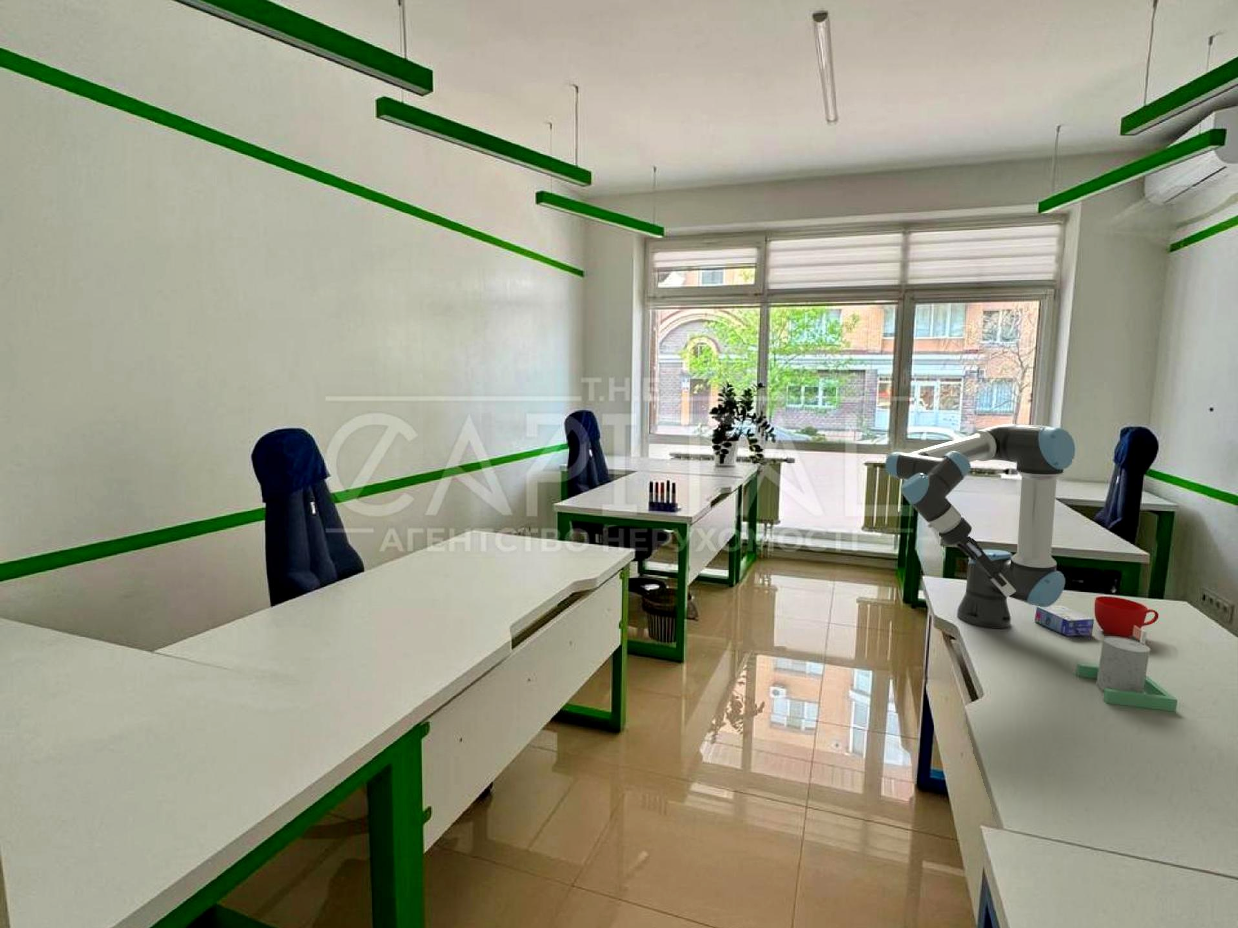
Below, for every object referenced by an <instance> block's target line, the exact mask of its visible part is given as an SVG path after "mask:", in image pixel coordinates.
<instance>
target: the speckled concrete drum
mask: <svg viewBox="0 0 1238 928" xmlns="http://www.w3.org/2000/svg"><path fill="white" fill-rule="evenodd" d="M1150 652H1151V648H1150V647H1149V646H1148V645H1147V644H1146V643H1145V644H1143V643H1140V641H1137V640H1134V639H1131V638H1122V637H1115V636H1111V635H1109V636H1104V637H1102V643H1101V652H1100V658H1099V662H1098V663H1099V664H1098V666H1099V670H1098V677H1097V678H1096V682H1095V685H1096V687H1097V688H1098V689H1100V690H1101V691H1102V692H1105V689H1114V690H1122V691H1130V692H1138V693H1144V684H1145V678H1146V676H1147V671H1148V670H1147V669H1148V664H1149V657H1150Z"/></svg>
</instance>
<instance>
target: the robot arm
mask: <svg viewBox="0 0 1238 928" xmlns="http://www.w3.org/2000/svg"><path fill="white" fill-rule="evenodd" d="M1075 455H1076V447H1075V440H1074V438H1073V436H1072V434H1070V432H1068V430H1066V429H1065V428H1061V427H1054V426H1051V425H1041V424H1039V425H1038V424H1025V423H1024V424H1022V423H1021V424H1020V423H1003V424H999V425H995V426H990V427H986V428H982V429H979V430H975V431H972V432H971V433H970V434H969V435H968V436H966V437H962V438H957V439H955V440H951V441H947V442H944V443H943V442H942V443H940V444H936V445H933V446H932V445H931V446H929V447H926V448H923V449H918V450H915V451H910V452H903V451H894V452H891V453H890V454H888V456H887V457H886V460H885V472H886V473H887V474H888V476H890V477H893V478H896V479H898V480H904V482H903V483H902V484H901V486H900V491H901V493H902V495H903V496H904V498H905V499H906V501H907V502H908V504H910V505H911V506H912V507H913V508H914V509H915V510H916V512H918V514H920V516H922V518H923V519H924V520H925V521H926V522H927V524H928V525H927V527H928V529H933V530H934V532H935V533H937V534H938V536H939V537H940V539H942V540H943V542H944V543H945V544H946V545H950V546H952V545H955V544H956V547H957V548H958V549H959V550H961V551H962V552H963V553H964V554H965V555H966V556H967V557H968V558H969V561H968V563H967V564H968V568H967V577H966V587H965V593H964V595H963V597H962V599H961V602H960V604H959V605H958V607H957V612H956V613H957V614H956V615H957V618H958V619H960V620H962V621H964V622H966V623H968V624H971V625H974V626H979V627H983V628H988V629H1006V628H1009V627H1010V626H1011V621H1012V617H1011V613H1010V609H1009V606H1008V597H1009V598H1011V599H1014V600H1018V601H1020V602H1022V603H1026V604H1028V605H1031V606H1036V607H1048V606H1053V605H1054V604H1055V603H1056V602H1057V601H1058V599H1059V598H1060V597H1061V595H1062V594H1063V591H1064V588H1065V584H1066V578H1065V576H1064V574H1063V573H1062V572H1061V571H1060V570H1059V571H1058V570H1057V564H1058V563H1057V560H1055V559H1054V557H1052V547H1053V546H1052V545H1053V534H1054V533H1053V532H1054V518H1055V506H1056V505H1055V503H1056V492H1057V490H1056V489H1057V479H1058V478H1059V477H1060V476H1062V475H1063V474H1064V470H1065V469H1067V468H1069V467H1070V466H1071V465H1072V463H1073V460H1074V459H1075ZM991 460H992V461H993V460H995V461H1004V462H1010V463H1016V471H1015V472H1016V473H1018V474H1019V475H1020V476H1021V482H1020V483H1021V485H1020V500H1019V517H1018V534H1017V535H1018V536H1017V551H1016V553H1014V554H1013V553H1011V552H1010V551H1006V550H999V549H983V548H982V547H981V546H979V545H978V542H977V541H976V539H974V538H973V537H971V536H969V535H970V534H971V533H972V529H973V528H972V525H971V524H970V523H969V522H968V521H967V520H966V519H965V518H964V517H962V513H960V512H959V511H958V510H957V508H955V506H954V505H953V504H952V503H951V502H950V501H949V500H948V498H947V496H948V495H949V494H950V493H951V492H952V491H953V490H954V489H955V488H956V487H957V486H958V485H959V484H960V483H961V482H962V481H963V480H964V479H965V477H966V476H967V475H968V474H969V472H970V471H971V467H972V466H971V463H972V462H975V461H979V462H987V461H991Z"/></svg>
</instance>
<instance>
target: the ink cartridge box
mask: <svg viewBox="0 0 1238 928" xmlns="http://www.w3.org/2000/svg"><path fill="white" fill-rule="evenodd" d="M1034 622H1035V623H1037V624H1039V625H1041V626H1043V627H1046V628H1048V629H1051V630H1053V631H1055V632H1057V633H1058V634H1061V635H1063V636H1065V637H1071V636H1072V637H1073V636H1075V637H1076V636H1092V635H1093V628H1094V623H1095V619H1094V618H1093V617H1089V616H1088V615H1085V614H1082V613H1080V612H1078V611H1075V610H1073V609H1070V608H1068V607H1067V606H1064V605H1050V606H1048V607H1039V606H1036V611H1035V615H1034Z"/></svg>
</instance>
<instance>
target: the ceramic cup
mask: <svg viewBox="0 0 1238 928" xmlns="http://www.w3.org/2000/svg"><path fill="white" fill-rule="evenodd" d="M1093 607H1094V608H1093V609H1094V611H1093V612H1094V617H1095V620H1096V623H1097V624H1098V626H1099V627H1100V629H1101V631H1103V633H1105V634H1106V635H1109V636H1115V637H1122V638H1127V639H1130V637H1132V636H1134V635H1133V629H1134V625H1135V626H1137V627H1138V628H1140V629H1141V630H1142V628H1143V627H1146V626H1149V625H1152V624H1154V623H1156V622H1157V620H1158V619H1159V613H1158V612H1157V611H1156V610H1154V609H1152V608H1150V609H1149V608H1148V607H1147V606H1146V605H1145V604H1143V603H1140V602H1137V601H1134V600H1130V599H1128V598H1127V599H1126V598H1121V597H1116V596H1107V595H1105V596H1097V597H1095V598H1094V606H1093ZM1150 613H1153V614H1154V616H1153V617H1152V618H1151V619H1150V620H1149V621H1146V618H1147V614H1150ZM1145 621H1146V622H1145Z"/></svg>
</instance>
